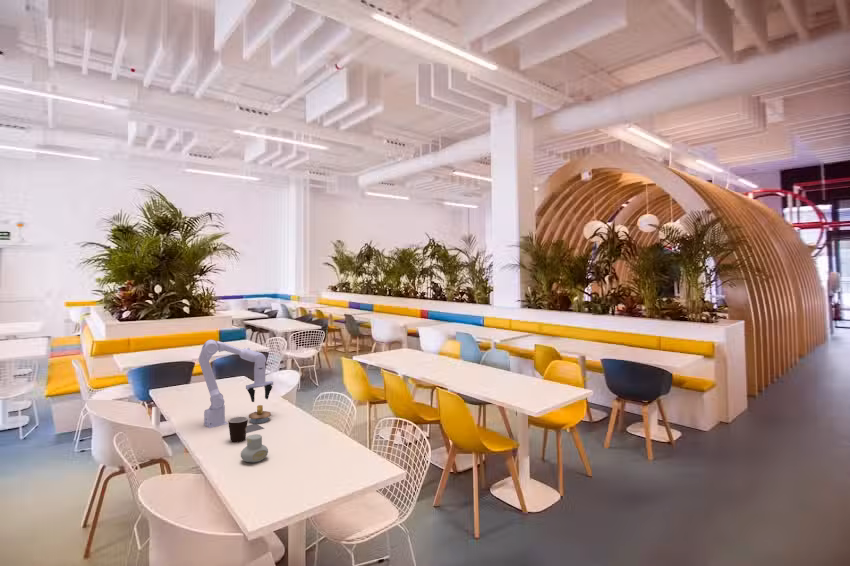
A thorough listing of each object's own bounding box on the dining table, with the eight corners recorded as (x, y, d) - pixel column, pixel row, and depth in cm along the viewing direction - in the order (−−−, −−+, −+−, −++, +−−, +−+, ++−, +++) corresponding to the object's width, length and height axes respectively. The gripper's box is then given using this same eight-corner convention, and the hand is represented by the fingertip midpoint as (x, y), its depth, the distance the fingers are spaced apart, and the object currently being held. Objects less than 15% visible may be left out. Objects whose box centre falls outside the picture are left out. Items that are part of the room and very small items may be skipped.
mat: (245, 434, 217) (245, 433, 217) (236, 428, 224) (236, 428, 224) (264, 429, 224) (264, 428, 224) (256, 424, 231) (256, 423, 231)
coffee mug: (240, 444, 203) (240, 423, 203) (224, 443, 205) (224, 421, 205) (255, 435, 215) (255, 415, 214) (239, 434, 216) (239, 414, 216)
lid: (253, 420, 228) (253, 410, 227) (245, 415, 236) (245, 405, 236) (274, 416, 235) (274, 406, 235) (266, 411, 243) (266, 401, 243)
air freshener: (261, 453, 194) (261, 430, 194) (271, 458, 189) (271, 435, 189) (237, 461, 186) (237, 437, 185) (247, 467, 180) (247, 442, 180)
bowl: (254, 425, 229) (254, 419, 229) (247, 421, 236) (247, 415, 236) (271, 421, 236) (271, 415, 236) (263, 417, 242) (263, 411, 242)
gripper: (249, 378, 232) (249, 404, 232) (275, 374, 242) (275, 399, 242) (244, 376, 237) (244, 401, 237) (270, 372, 247) (270, 396, 247)
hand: (259, 400), depth 240 cm, fingers open, 7 cm apart
